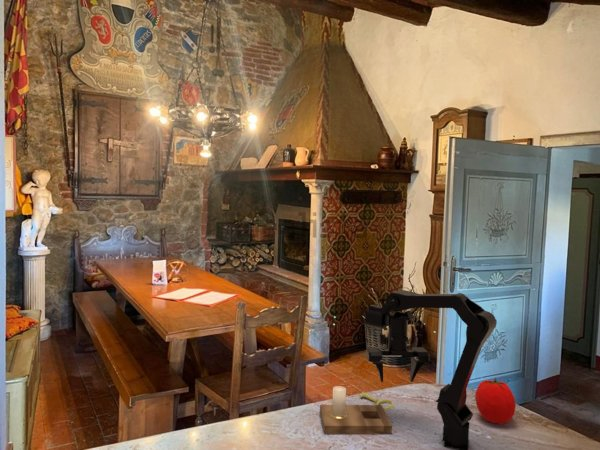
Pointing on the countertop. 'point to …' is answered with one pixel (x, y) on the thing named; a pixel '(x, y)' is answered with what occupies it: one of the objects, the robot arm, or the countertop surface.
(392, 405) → the key
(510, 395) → the tomato
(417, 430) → the countertop surface
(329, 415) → the brass disc
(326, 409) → the walnut holder
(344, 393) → the ivory candle
